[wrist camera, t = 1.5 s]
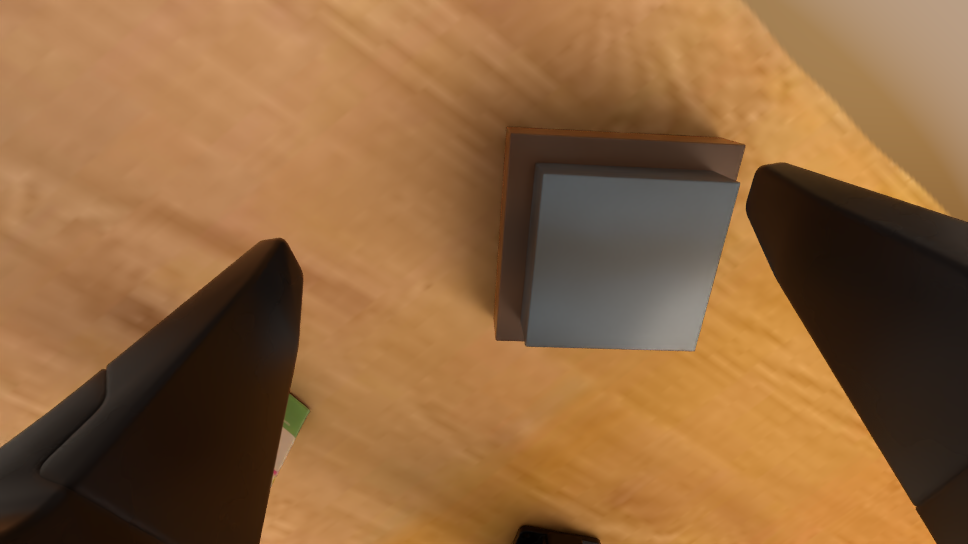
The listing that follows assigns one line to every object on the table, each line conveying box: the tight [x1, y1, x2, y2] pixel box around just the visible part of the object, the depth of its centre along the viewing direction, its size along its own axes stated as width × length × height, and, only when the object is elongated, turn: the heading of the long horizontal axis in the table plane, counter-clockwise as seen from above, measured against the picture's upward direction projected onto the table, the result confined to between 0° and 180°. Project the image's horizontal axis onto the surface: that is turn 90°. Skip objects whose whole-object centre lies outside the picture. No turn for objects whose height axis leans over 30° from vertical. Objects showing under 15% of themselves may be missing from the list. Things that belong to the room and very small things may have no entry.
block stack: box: [494, 127, 745, 351], centre depth 24 cm, size 11×11×5 cm
